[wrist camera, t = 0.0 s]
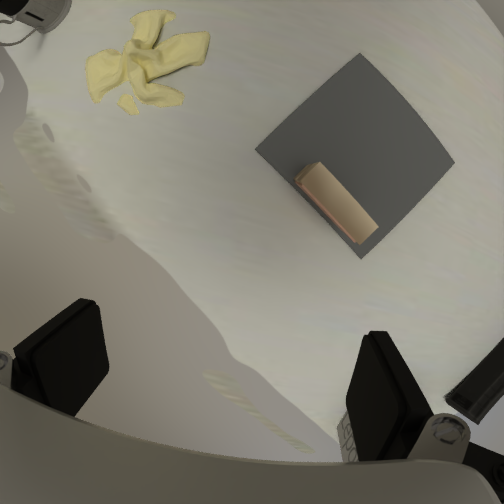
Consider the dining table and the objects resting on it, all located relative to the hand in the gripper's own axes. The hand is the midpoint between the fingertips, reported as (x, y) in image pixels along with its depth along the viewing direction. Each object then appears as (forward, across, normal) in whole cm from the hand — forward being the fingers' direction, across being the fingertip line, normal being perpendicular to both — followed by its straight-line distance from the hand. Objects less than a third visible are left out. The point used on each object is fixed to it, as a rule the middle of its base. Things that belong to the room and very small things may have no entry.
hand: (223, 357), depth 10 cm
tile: (+31, -7, -4) cm, 32 cm away
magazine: (+32, -48, +19) cm, 61 cm away
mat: (+31, -12, -10) cm, 35 cm away
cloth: (+32, +18, -21) cm, 42 cm away
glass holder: (+31, +41, -34) cm, 62 cm away
